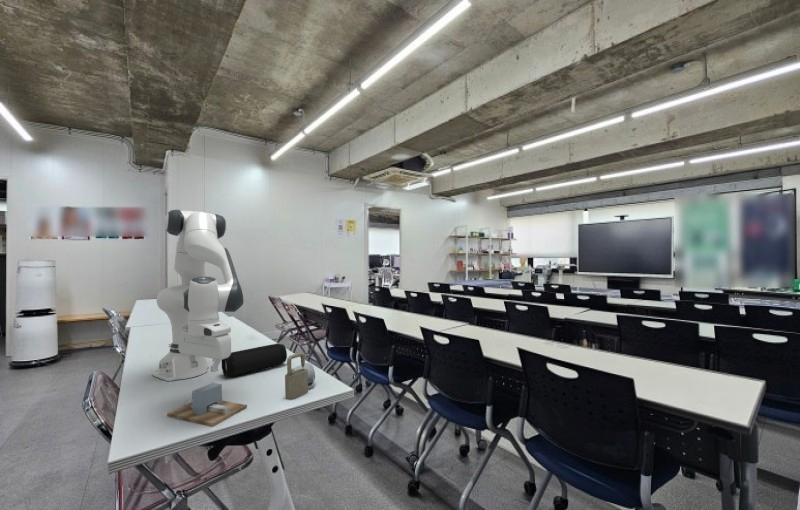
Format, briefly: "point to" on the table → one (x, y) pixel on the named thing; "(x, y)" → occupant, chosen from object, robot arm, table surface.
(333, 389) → the table surface
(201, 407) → the block
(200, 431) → the table surface
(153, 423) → the table surface
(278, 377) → the table surface
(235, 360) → the portable speaker
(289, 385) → the padlock
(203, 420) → the striped wooden board
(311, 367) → the ceramic mug
